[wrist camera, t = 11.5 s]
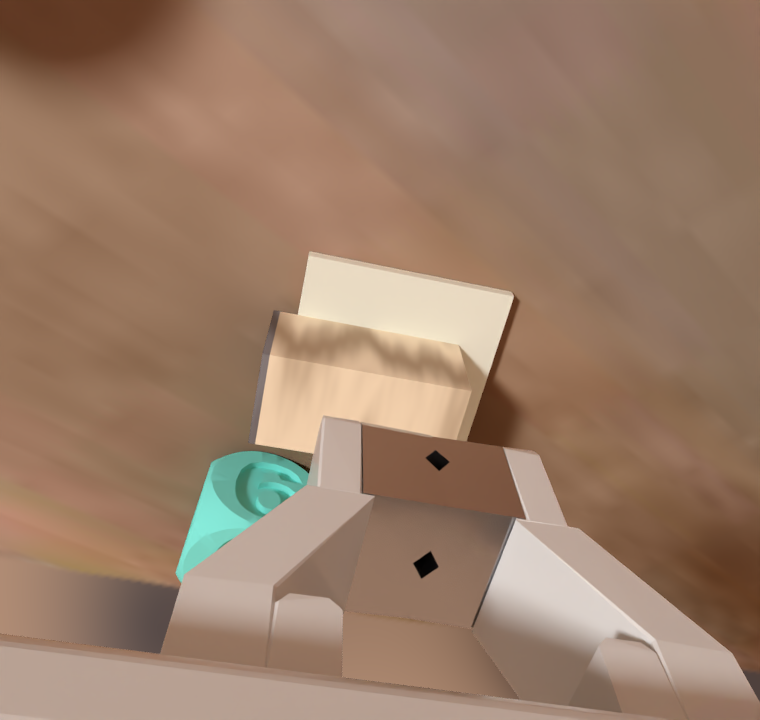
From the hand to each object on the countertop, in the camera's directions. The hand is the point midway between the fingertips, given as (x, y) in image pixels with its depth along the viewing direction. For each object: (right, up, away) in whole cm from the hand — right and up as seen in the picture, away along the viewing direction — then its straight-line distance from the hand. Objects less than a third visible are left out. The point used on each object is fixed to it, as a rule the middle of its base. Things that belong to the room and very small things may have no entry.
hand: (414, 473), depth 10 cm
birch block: (-8, +1, +34) cm, 34 cm away
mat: (0, +1, +38) cm, 38 cm away
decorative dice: (-9, -8, +43) cm, 44 cm away
